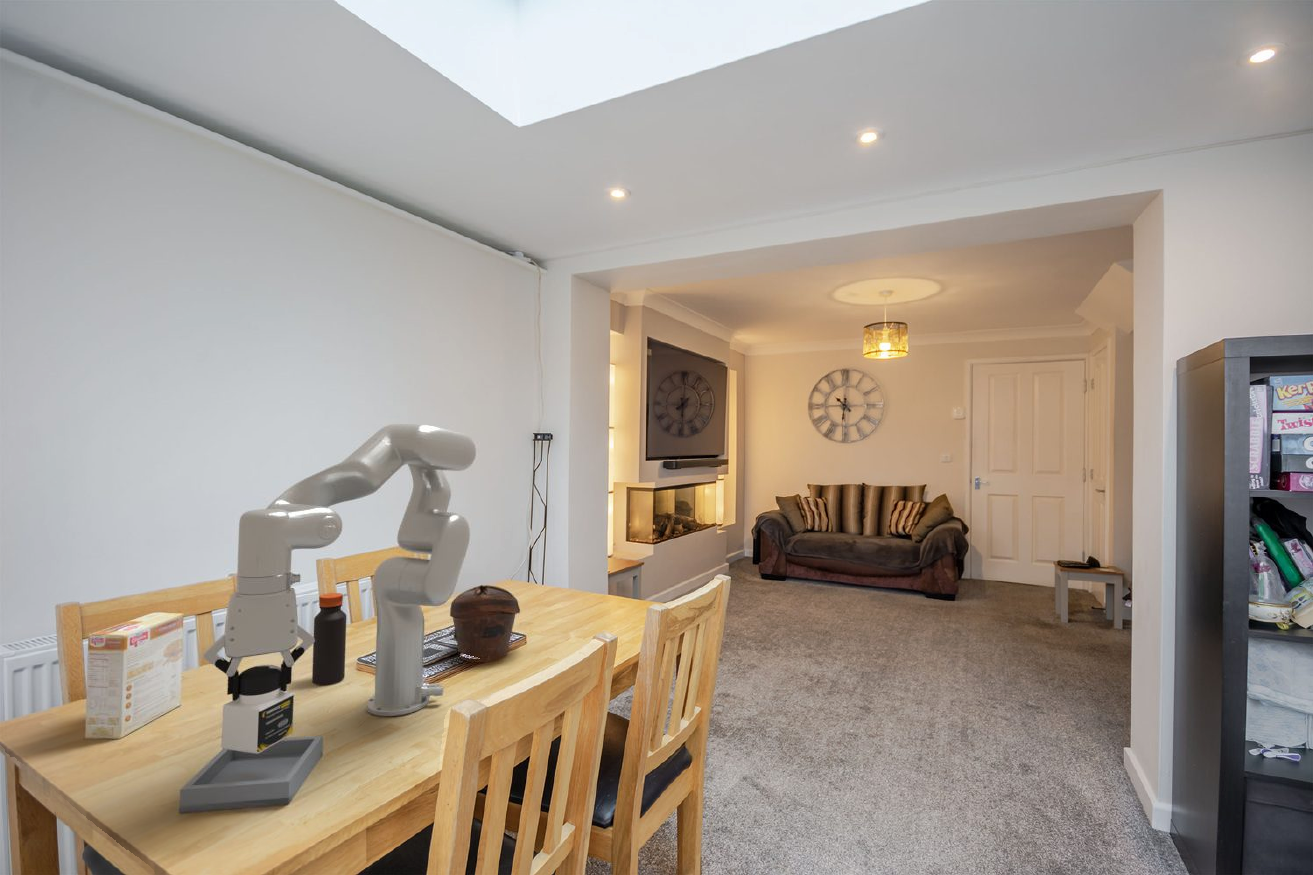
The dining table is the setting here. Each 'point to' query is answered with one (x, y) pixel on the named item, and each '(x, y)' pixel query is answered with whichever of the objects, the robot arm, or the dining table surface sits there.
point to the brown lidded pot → (484, 622)
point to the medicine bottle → (258, 711)
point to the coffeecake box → (133, 674)
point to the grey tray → (252, 776)
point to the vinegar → (329, 641)
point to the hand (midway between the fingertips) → (259, 692)
